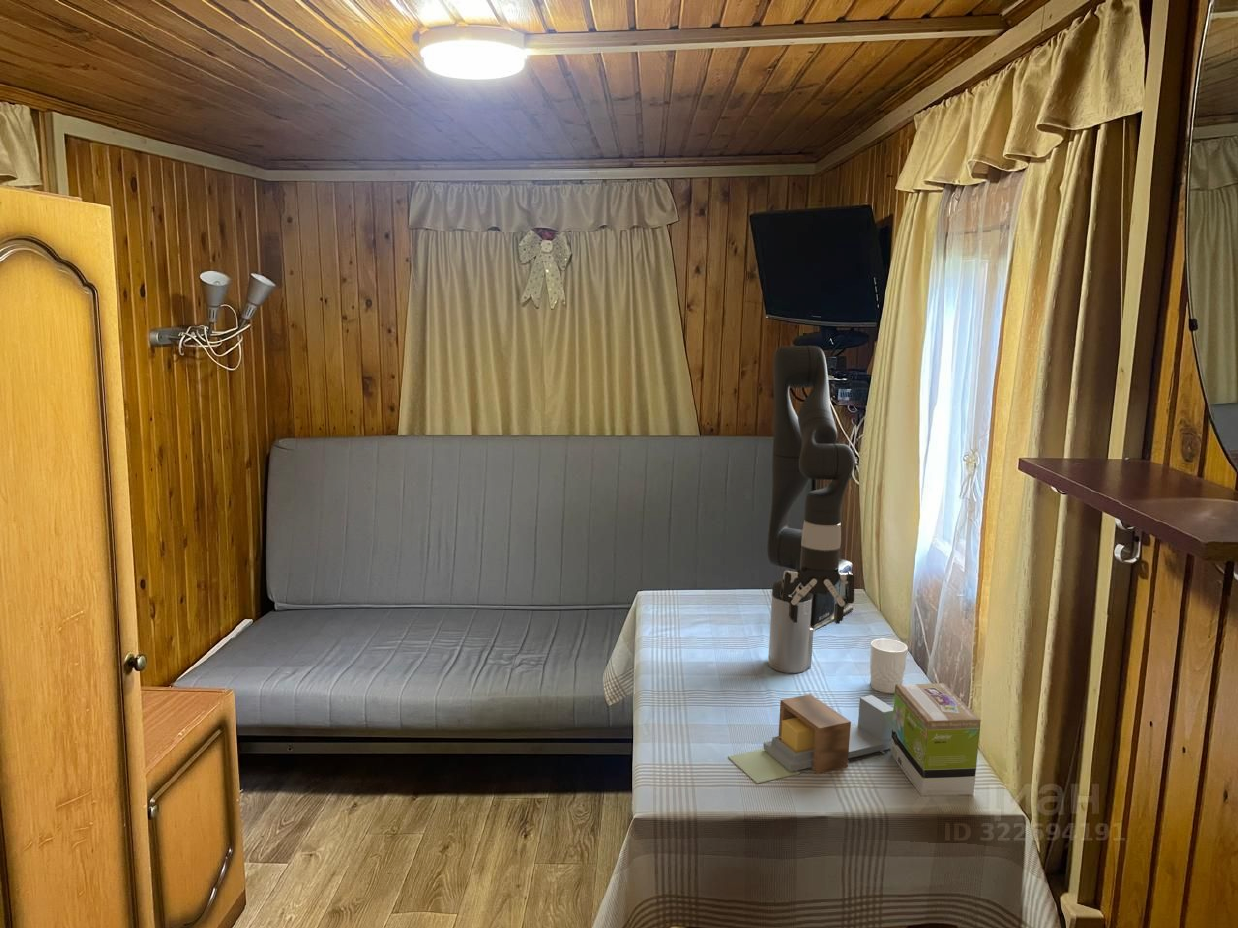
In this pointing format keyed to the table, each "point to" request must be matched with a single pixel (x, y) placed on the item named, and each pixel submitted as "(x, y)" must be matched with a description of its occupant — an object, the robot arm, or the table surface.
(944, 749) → the tea box
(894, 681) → the white cup
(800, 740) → the block
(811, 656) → the robot arm
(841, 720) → the tunnel
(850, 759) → the mat
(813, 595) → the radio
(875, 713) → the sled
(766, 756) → the mat
